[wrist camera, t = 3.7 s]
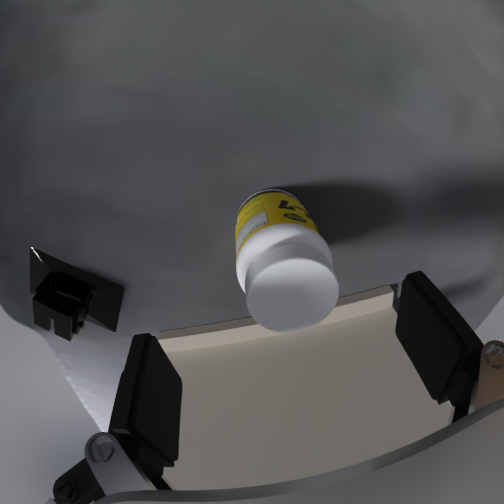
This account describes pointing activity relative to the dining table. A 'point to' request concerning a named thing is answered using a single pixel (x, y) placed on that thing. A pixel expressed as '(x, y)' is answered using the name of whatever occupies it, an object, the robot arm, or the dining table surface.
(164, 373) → the robot arm
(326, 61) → the dining table surface
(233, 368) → the screen
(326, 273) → the supplement bottle
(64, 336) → the black phone stand
